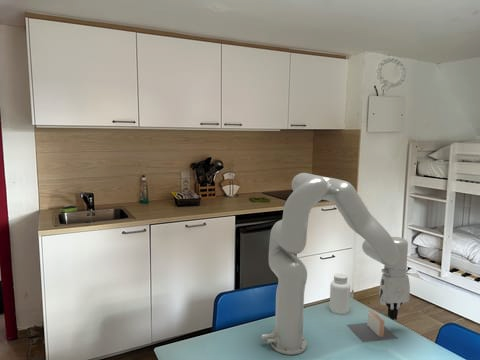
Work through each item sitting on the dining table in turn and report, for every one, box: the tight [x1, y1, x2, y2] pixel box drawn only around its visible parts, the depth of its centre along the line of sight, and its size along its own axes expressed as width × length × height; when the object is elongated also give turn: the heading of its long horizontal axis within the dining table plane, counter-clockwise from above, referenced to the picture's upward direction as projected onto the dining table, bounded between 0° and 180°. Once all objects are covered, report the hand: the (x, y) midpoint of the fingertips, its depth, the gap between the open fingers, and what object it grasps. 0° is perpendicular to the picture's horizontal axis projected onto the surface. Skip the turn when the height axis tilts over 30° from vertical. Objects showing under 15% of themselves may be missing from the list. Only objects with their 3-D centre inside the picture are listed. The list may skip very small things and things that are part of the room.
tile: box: [366, 310, 385, 337], centre depth 137 cm, size 2×8×6 cm, turn 11°
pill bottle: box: [329, 273, 351, 315], centre depth 153 cm, size 8×8×15 cm
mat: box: [346, 322, 399, 343], centre depth 137 cm, size 14×12×1 cm
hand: (392, 317), depth 138 cm, fingers closed
